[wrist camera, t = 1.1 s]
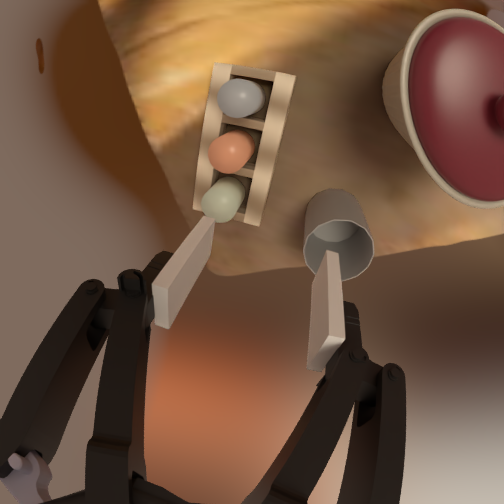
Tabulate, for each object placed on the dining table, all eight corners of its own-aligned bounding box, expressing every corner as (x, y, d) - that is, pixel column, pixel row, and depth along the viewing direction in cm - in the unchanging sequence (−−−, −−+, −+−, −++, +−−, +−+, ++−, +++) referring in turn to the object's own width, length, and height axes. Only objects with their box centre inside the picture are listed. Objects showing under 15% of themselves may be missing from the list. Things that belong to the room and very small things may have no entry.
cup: (364, 190, 36) (379, 222, 27) (358, 241, 40) (368, 282, 32) (305, 187, 37) (303, 217, 29) (304, 238, 42) (301, 279, 33)
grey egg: (233, 78, 28) (221, 76, 24) (269, 84, 28) (262, 82, 24) (227, 111, 31) (214, 114, 27) (261, 117, 30) (253, 121, 26)
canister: (423, 17, 19) (509, -24, 2) (492, 123, 24) (590, 168, 7) (332, 80, 29) (362, 61, 11) (412, 185, 33) (483, 273, 16)
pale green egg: (216, 173, 36) (203, 185, 31) (248, 180, 35) (239, 194, 31) (212, 202, 38) (199, 217, 34) (242, 210, 38) (232, 226, 34)
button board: (221, 64, 30) (214, 62, 27) (296, 77, 29) (295, 76, 27) (199, 201, 42) (192, 209, 39) (262, 217, 41) (259, 226, 39)
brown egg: (224, 126, 32) (211, 132, 28) (258, 133, 32) (249, 140, 28) (218, 158, 34) (205, 168, 30) (251, 166, 34) (242, 177, 30)
